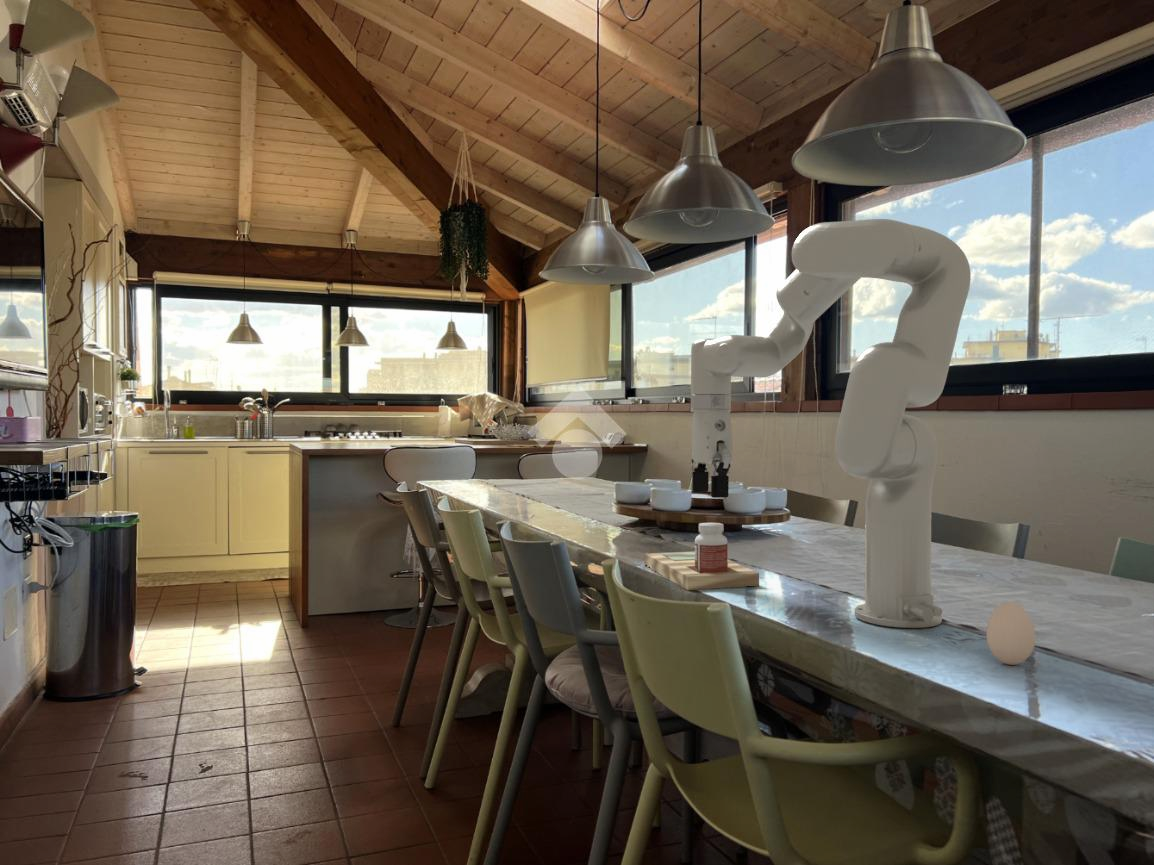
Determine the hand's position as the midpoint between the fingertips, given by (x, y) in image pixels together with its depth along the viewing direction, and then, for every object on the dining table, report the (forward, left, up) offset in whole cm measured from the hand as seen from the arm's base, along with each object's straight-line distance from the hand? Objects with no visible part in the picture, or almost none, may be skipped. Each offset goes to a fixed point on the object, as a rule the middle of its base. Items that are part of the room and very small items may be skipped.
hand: (709, 494), depth 158 cm
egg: (-58, -17, -17) cm, 63 cm away
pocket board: (+7, 0, -17) cm, 18 cm away
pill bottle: (0, 0, -17) cm, 17 cm away
